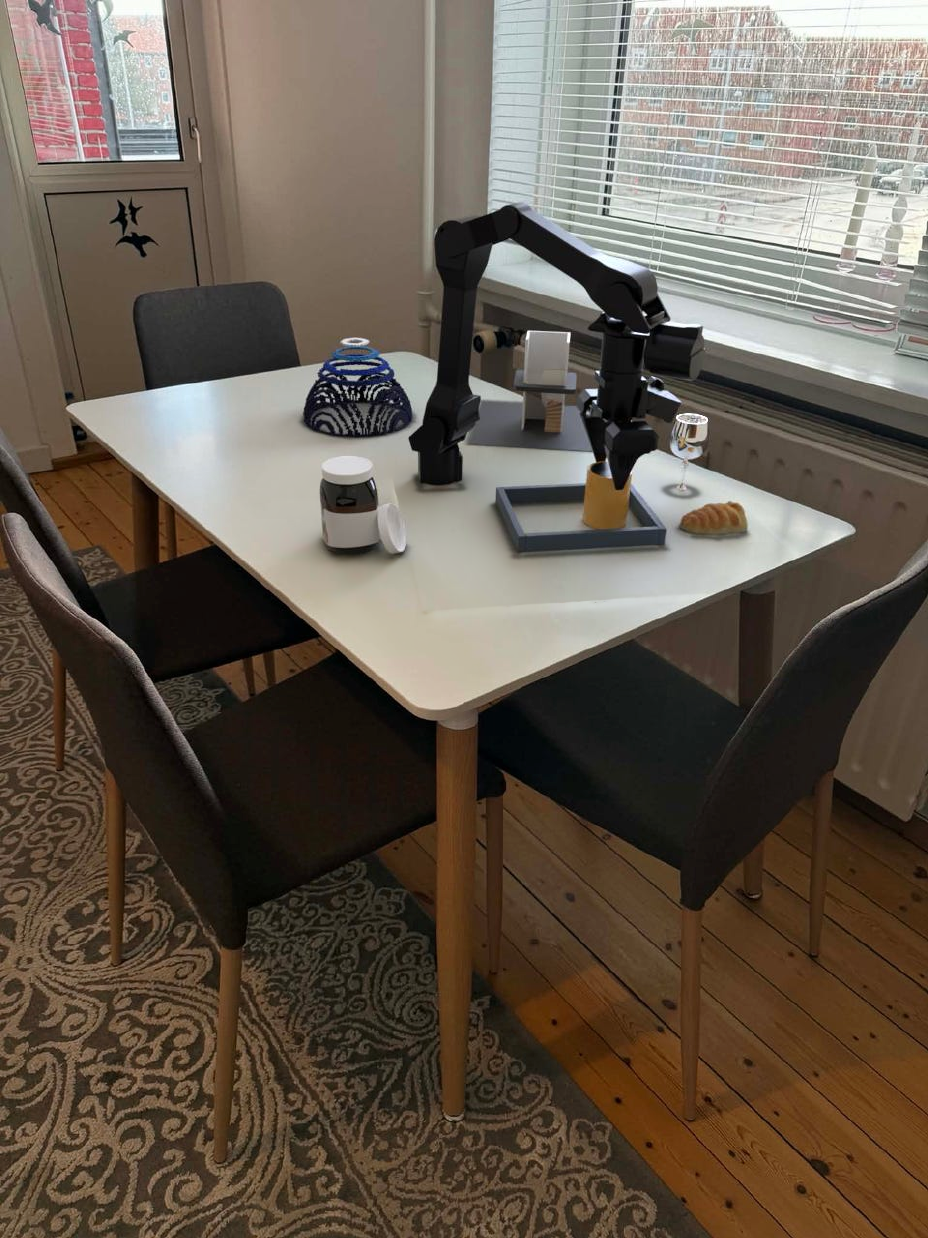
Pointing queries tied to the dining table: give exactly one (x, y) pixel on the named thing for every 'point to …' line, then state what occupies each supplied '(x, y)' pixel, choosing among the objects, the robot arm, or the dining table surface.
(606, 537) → the blue tray
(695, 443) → the wineglass
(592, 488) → the tapered yellow cylinder
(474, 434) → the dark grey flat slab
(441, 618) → the dining table surface
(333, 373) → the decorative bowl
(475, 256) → the robot arm
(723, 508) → the pastry
